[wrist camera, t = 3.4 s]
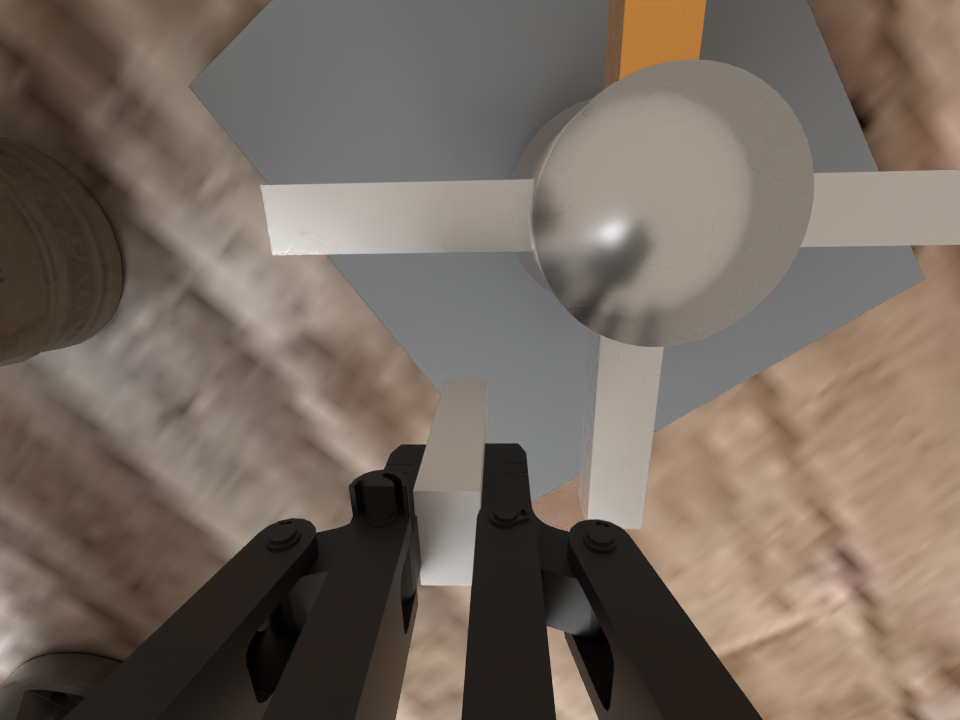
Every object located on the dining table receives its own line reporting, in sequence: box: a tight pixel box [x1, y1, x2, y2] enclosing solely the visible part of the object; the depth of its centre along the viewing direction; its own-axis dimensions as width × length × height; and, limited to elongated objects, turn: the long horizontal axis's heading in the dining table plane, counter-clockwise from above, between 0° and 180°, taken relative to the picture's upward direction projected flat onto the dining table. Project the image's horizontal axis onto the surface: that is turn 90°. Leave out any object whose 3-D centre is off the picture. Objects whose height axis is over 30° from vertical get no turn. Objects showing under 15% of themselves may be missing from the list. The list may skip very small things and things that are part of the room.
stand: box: [189, 0, 924, 502], centre depth 16 cm, size 22×26×14 cm
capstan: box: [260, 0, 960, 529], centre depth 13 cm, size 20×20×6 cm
